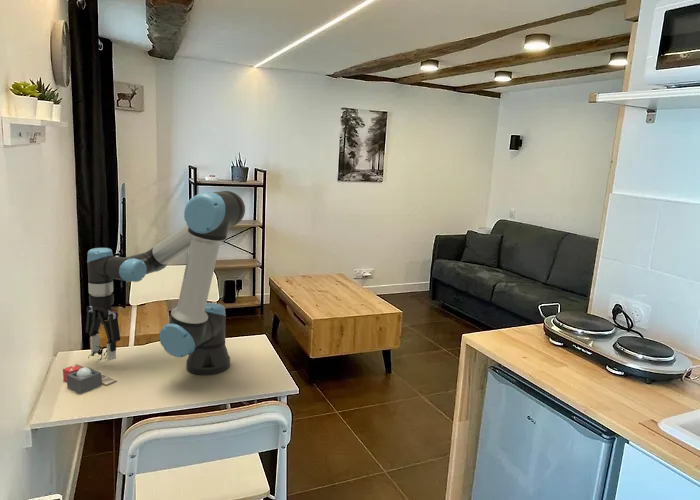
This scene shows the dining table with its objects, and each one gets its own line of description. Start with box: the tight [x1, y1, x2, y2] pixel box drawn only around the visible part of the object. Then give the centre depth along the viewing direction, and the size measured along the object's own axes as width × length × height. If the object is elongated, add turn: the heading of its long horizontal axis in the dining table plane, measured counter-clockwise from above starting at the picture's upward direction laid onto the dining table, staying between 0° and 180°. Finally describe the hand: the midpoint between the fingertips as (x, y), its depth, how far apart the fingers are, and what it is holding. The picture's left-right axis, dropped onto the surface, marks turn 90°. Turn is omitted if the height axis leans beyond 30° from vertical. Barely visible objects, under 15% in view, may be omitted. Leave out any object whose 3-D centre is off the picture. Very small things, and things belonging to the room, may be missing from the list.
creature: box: [87, 345, 107, 363], centre depth 167 cm, size 8×5×8 cm
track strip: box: [75, 363, 118, 387], centre depth 162 cm, size 22×4×1 cm, turn 60°
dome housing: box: [66, 366, 103, 395], centre depth 153 cm, size 7×7×4 cm
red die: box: [62, 364, 81, 383], centre depth 158 cm, size 4×4×4 cm
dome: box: [77, 367, 92, 379], centre depth 153 cm, size 4×4×5 cm
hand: (103, 356), depth 168 cm, fingers closed on creature, 8 cm apart
